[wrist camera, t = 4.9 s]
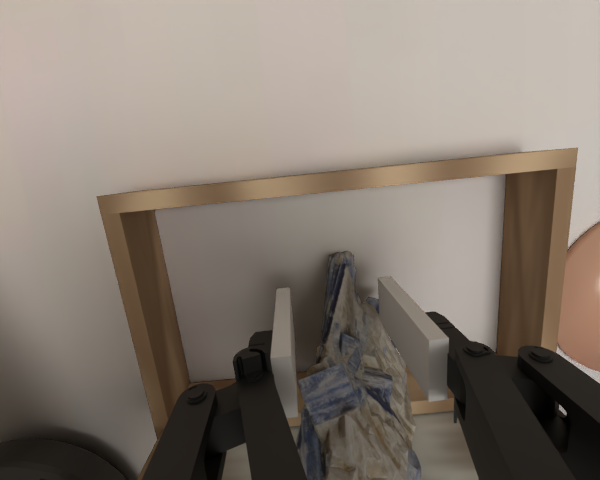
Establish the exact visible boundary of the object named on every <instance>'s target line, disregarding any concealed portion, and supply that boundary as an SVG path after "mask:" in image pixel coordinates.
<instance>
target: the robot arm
mask: <svg viewBox="0 0 600 480" xmlns="http://www.w3.org/2000/svg"><path fill="white" fill-rule="evenodd" d="M378 294H379V319H380V321H381V323H382V325H383V326H384V328H385V330H386V331H387V333H388V335H389V336H390V338H391V340H392V341H393V343H394V345H395V346H396V348H397V350H398V351H399V353H400V355H401V356H402V358H403V360H404V361H405V363H406V365H407V366H408V368H409V370H410V371H411V373H412V375H413V376H414V378H415V380H416V381H417V383H418V385H419V386H420V388H421V390H422V391H423V393H424V395H425V396H426V398H427V400H428V401H429V402H431V401H440V400H448V387H449V389H450V390H451V391H452V393H453V394H454V418H453V419H454V423H457V418H458V419H459V422H460V425H461V428H462V431H463V434H464V437H465V440H466V443H467V446H468V449H469V452H470V455H471V458H472V461H473V464H474V467H475V470H476V472H477V475H478V478H479V480H600V384H599V383H598V382H597V381H595V380H594V379H592V378H591V377H590V376H588V375H587V374H585V373H584V372H583V371H581V370H580V369H578V368H577V367H576V366H574V365H573V364H571V363H570V362H569V361H567V360H566V359H564V358H563V357H562V356H560V355H559V354H557V353H555V352H553V351H552V350H549V349H546V348H544V347H540V346H539V347H538V346H523V347H520V348H519V349H518V356H517V357H513V356H502V355H496V354H495V353H494V351H493V350H492V349H491V348H490V347H488V346H486V345H484V344H481V343H478V342H473V341H469V340H468V339H467V338H466V337H465V336H464V335H463V334H462V333H461V332H460V331H459V330H458V329H457V328H455V326H454V325H453V324H452V323H450V322H449V321H448V320H447V319H446V318H445V317H444V316H442V315H440V314H438V313H436V312H426V313H425V312H424V311H423V310H422V309H421V308H420V307H419V306H418V305H417V304H416V303H415V302H414V301H413V300H412V299H411V297H410V296H409V295H408V294H407V293H406V292H405V291H404V290H403V289H402V288H401V287H400V286H399V285H398V284H397V283H396V282H395V281H394V279H393V278H392V277H391V276H390V277H381V278H378ZM233 365H234V371H235V377H236V382H235V383H233V384H232V385H230V386H228V387H225V388H222V389H220V390H217V391H216V390H215V388H214V387H213V385H211V384H208V383H200V384H196V385H193V386H191V387H189V388H187V389H186V390H185V391H184V392H182V393H181V395H180V396H179V398H178V399H177V402H176V404H175V406H174V408H173V411H172V413H171V415H170V417H169V420H168V422H167V424H166V426H165V429H164V431H163V433H162V435H161V437H160V440H159V442H158V444H157V446H156V449H155V451H154V453H153V455H152V458H151V460H150V462H149V464H148V467H147V469H146V471H145V473H144V476H143V478H142V480H222V475H223V470H224V465H225V459H226V454H227V450H230V449H232V448H234V447H237V446H239V445H241V444H244V443H246V447H247V453H248V460H249V466H250V473H251V479H252V480H307V477H306V474H305V471H304V468H303V465H302V462H301V459H300V456H299V453H298V450H297V447H296V444H295V441H294V438H293V435H292V433H291V430H290V427H289V424H288V421H287V418H292V417H298V402H297V378H296V354H295V330H294V321H293V312H292V304H291V295H290V287H289V288H279V289H277V291H276V302H275V313H274V324H273V330H270V331H261V332H255V333H254V335H253V336H252V337H251V338H250V341H249V346H248V348H246V349H243V350H241V351H240V352H238V353H237V354H236V355H235V357H234V359H233ZM559 404H560V405H561V406H562V407H563V408H564V409H565V410H566V412H567V415H564V414H563V413H562V412H561V411H560V410H559ZM0 480H126V479H125V477H124V476H123V475H122V474H121V473H120V472H119V471H118V470H117V469H115V468H114V467H113V466H112V465H111V464H109V463H108V462H107V461H105V460H104V459H102V458H100V457H99V456H97V455H95V454H93V453H91V452H89V451H87V450H85V449H82V448H80V447H77V446H74V445H71V444H68V443H64V442H60V441H54V440H48V439H18V440H11V441H6V442H3V443H0Z"/></svg>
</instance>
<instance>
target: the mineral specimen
mask: <svg viewBox="0 0 600 480" xmlns="http://www.w3.org/2000/svg"><path fill="white" fill-rule="evenodd" d="M355 276H356V268H354V256H353V254H352V253H351V252H348V251H346V252H343V253H337V254H335V255H330V256H329V263H328V269H327V284H326V294H325V304H324V314H323V324H322V334H321V344H320V346H317V362H316V365H313V366H311V367H309V368H308V370H307V377H305V378H303V379H300V380H298V381H297V383H298V386H299V389H300V392H301V395H302V398H303V400H304V403H305V405H304V407H303V409H302V411H301V424H300V428H299V431H298V435H297V439H296V443H295V444H296V447H297V450H298V453H299V456H300V459H301V462H302V465H303V468H304V471H305V474H306V477H307V480H421V466H420V463H419V460H418V457H417V455H416V453H415V452H414V451H413V449H412V442H411V441H412V439H413V438H414V434H415V428H416V423H415V421H414V419H413V416H412V407H411V401H410V397H409V394H408V387H407V384H406V382H407V373H406V371H405V367H406V363H405V361H404V360H403V358H402V356H400V355H399V353H398V352H397V350H396V346H395V345H394V343H393V341H392V340H390V338H389V336H388V334H387V333H386V331H385V329H384V326H383V325H382V323H381V321H380V319H379V299H375V298H371V297H368V299H367V300H366V302H365V303H362V304H361V300H360V298H359V297H358V295H357V293H356V292H355Z"/></svg>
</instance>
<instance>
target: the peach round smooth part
mask: <svg viewBox="0 0 600 480" xmlns="http://www.w3.org/2000/svg"><path fill="white" fill-rule="evenodd" d="M557 345H558V346H559V347H560V348H561V349H562V350H563V351H564V352H565V353H566V354H567V355H569V356H570V357H571V358H573V359H574V360H576V361H577V362H578V363H580V364H582V365H584V366H586V367H588V368H590V369H593V370H596V371H599V372H600V223H598V224H597V225H595V226H594V227H592V228H591V229H589V230H588V231H587V232H586V233H585V234H583V235H582V236H581V237H580V238H579V239H578V240H577V241H576V242H575V243H574V244H573V245H572V246H571V247H570V248H569V250H568V251H567V256H566V265H565V275H564V284H563V294H562V303H561V313H560V322H559V331H558V341H557Z"/></svg>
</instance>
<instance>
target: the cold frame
mask: <svg viewBox="0 0 600 480" xmlns="http://www.w3.org/2000/svg"><path fill="white" fill-rule="evenodd" d="M577 152H578V148H569V149H556V150H544V151H532V152H520V153H510V154H500V155H490V156H481V157H471V158H461V159H451V160H441V161H431V162H421V163H411V164H402V165H392V166H382V167H372V168H362V169H352V170H342V171H332V172H323V173H313V174H303V175H293V176H283V177H273V178H263V179H253V180H244V181H234V182H224V183H214V184H204V185H194V186H184V187H174V188H165V189H155V190H145V191H135V192H127V193H120V194H112V195H104V196H97V200H98V204H99V208H100V212H101V216H102V220H103V224H104V228H105V232H106V236H107V240H108V244H109V248H110V252H111V256H112V260H113V264H114V268H115V272H116V276H117V280H118V284H119V288H120V292H121V296H122V300H123V304H124V308H125V312H126V316H127V320H128V324H129V328H130V332H131V336H132V340H133V344H134V348H135V352H136V356H137V360H138V364H139V368H140V372H141V376H142V380H143V384H144V388H145V392H146V396H147V400H148V404H149V408H150V412H151V416H152V420H153V424H154V428H155V432H156V436H157V441H156V443H155V445H154V447H153V449H152V451H151V453H150V455H149V457H148V459H147V461H146V463H145V465H144V467H143V469H142V471H141V473H140V475H139V477H138V479H137V480H142V478H143V476H144V473H145V471H146V469H147V467H148V464H149V462H150V460H151V458H152V455H153V453H154V451H155V449H156V446H157V444H158V442H159V440H160V437H161V435H162V433H163V431H164V429H165V426H166V424H167V422H168V420H169V417H170V415H171V413H172V411H173V408H174V406H175V404H176V402H177V399H178V398H179V396H180V395H181V393H182V392H184V391H185V390H186V389H187V388H189V387H191V386H193V385H196V384H200V383H208V384H211V385H213V387H214V388H215V390H216V391H217V390H220V389H222V388H225V387H228V386H230V385H232V384H233V383H235V382H236V379H228V380H218V381H208V382H198V383H190V380H189V375H188V370H187V366H186V361H185V356H184V351H183V347H182V342H181V337H180V332H179V327H178V323H177V318H176V313H175V308H174V304H173V299H172V294H171V289H170V284H169V280H168V275H167V270H166V265H165V261H164V256H163V251H162V246H161V241H160V237H159V232H158V227H157V222H156V218H155V213H154V209H164V208H174V207H184V206H193V205H203V204H213V203H223V202H233V201H243V200H253V199H263V198H273V197H283V196H293V195H302V194H312V193H322V192H332V191H342V190H352V189H362V188H372V187H382V186H392V185H401V184H411V183H421V182H431V181H441V180H451V179H461V178H471V177H481V176H491V175H500V174H507V176H506V194H505V212H504V230H503V248H502V266H501V284H500V302H499V320H498V338H497V353H495V354H496V355H502V356H513V357H517V356H518V349H519V348H520V347H523V346H538V347H539V346H540V347H544V348H546V349H549V350H552V351H553V352H555V353H556V350H557V341H558V331H559V322H560V313H561V303H562V294H563V284H564V275H565V265H566V256H567V247H568V237H569V228H570V218H571V209H572V199H573V190H574V181H575V171H576V162H577ZM405 371H406V373H407V382H406V384H407V387H408V394H409V397H410V401H411V407H412V416H413V419H414V421H415V423H416V428H415V434H414V438H413V439H412V441H411V442H412V449H413V451H414V452H415V453H416V455H417V457H418V460H419V463H420V466H421V480H479V478H478V475H477V472H476V470H475V467H474V464H473V461H472V458H471V455H470V452H469V449H468V446H467V443H466V440H465V437H464V434H463V431H462V428H461V425H460V422H459V419H458V418H457V423H454V419H453V418H454V394H453V393H452V391H451V390H450V389H449V387H448V400H440V401H431V402H429V401H428V400H427V398H426V396H425V395H424V393H423V391H422V390H421V388H420V386H419V385H418V383H417V381H416V380H415V378H414V376H413V375H412V373H411V371H410V370H409V368H408V366H407V365H406V367H405ZM305 377H307V372H299V373H296V378H297V381H298V380H300V379H303V378H305ZM297 402H298V417H292V418H287V421H288V424H289V427H290V430H291V433H292V435H293V438H294V441H295V443H296V439H297V435H298V431H299V428H300V424H301V411H302V409H303V407H304V405H305V403H304V400H303V398H302V395H301V392H300V389H299V386H298V383H297ZM222 480H252V479H251V473H250V466H249V460H248V453H247V447H246V443H244V444H241V445H239V446H237V447H234V448H232V449H230V450H227V454H226V459H225V465H224V470H223V475H222Z"/></svg>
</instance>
